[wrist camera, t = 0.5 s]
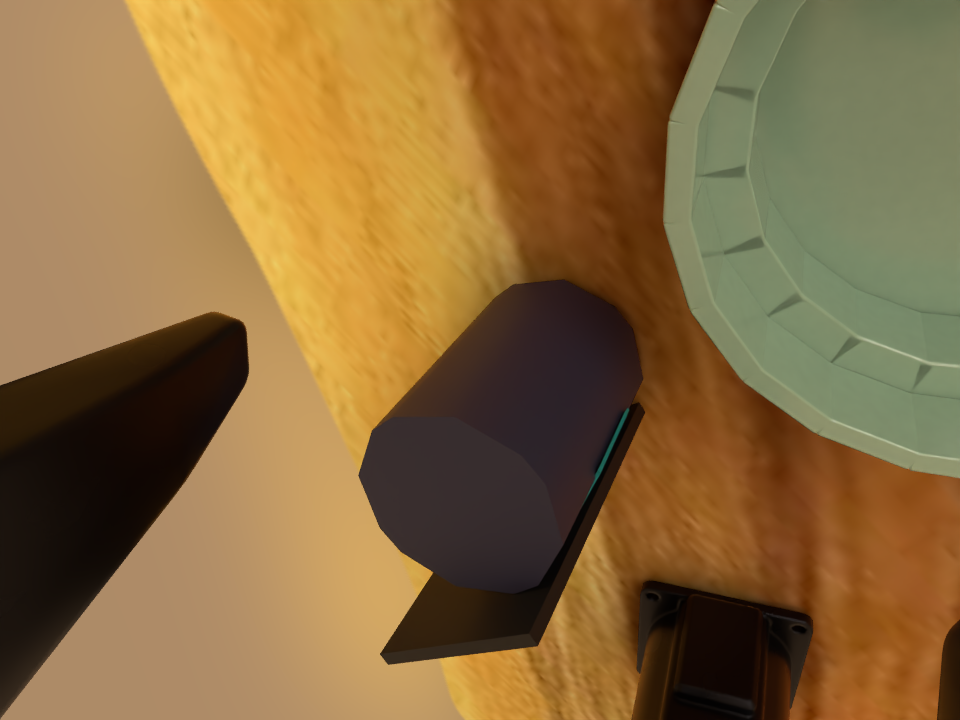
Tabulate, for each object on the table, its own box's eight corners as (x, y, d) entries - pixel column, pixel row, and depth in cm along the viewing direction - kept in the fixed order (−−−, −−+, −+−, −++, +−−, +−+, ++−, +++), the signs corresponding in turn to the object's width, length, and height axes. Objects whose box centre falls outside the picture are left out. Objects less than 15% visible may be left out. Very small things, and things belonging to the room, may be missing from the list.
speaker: (672, 456, 27) (582, 716, 19) (521, 449, 30) (388, 673, 22) (636, 255, 23) (508, 471, 16) (469, 267, 26) (288, 457, 18)
